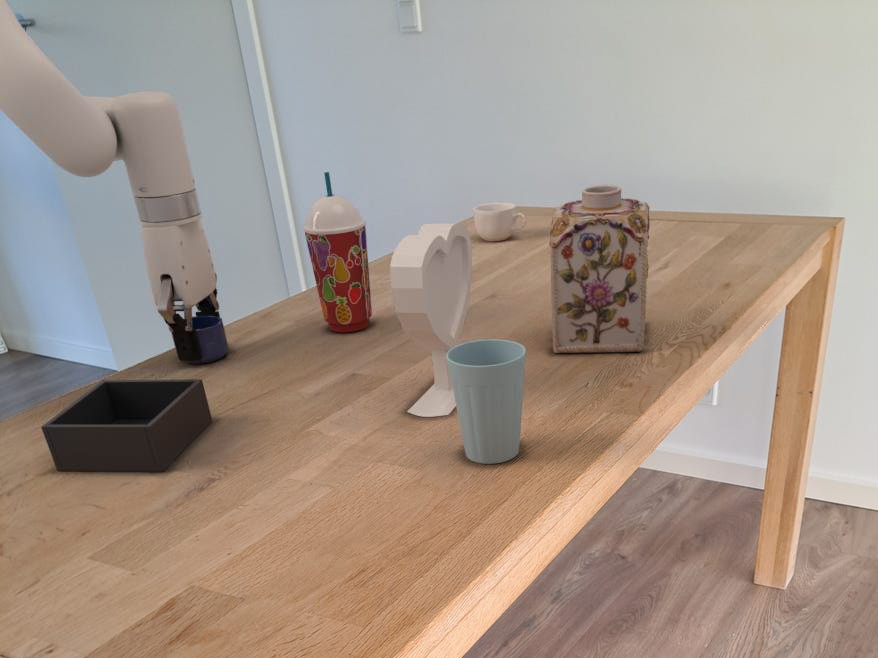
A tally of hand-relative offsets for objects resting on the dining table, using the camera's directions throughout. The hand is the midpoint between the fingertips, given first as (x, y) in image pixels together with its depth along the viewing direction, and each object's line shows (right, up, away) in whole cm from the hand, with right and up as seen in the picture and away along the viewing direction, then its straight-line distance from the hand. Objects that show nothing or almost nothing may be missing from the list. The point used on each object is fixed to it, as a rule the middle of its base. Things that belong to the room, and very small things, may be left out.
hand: (202, 349), depth 124 cm
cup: (+39, -20, -30) cm, 53 cm away
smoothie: (+19, +5, +7) cm, 21 cm away
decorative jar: (+53, 0, -4) cm, 53 cm away
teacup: (+42, +34, +45) cm, 70 cm away
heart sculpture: (+34, -11, -16) cm, 39 cm away
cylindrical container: (0, -1, +1) cm, 1 cm away
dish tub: (0, -18, -23) cm, 29 cm away
